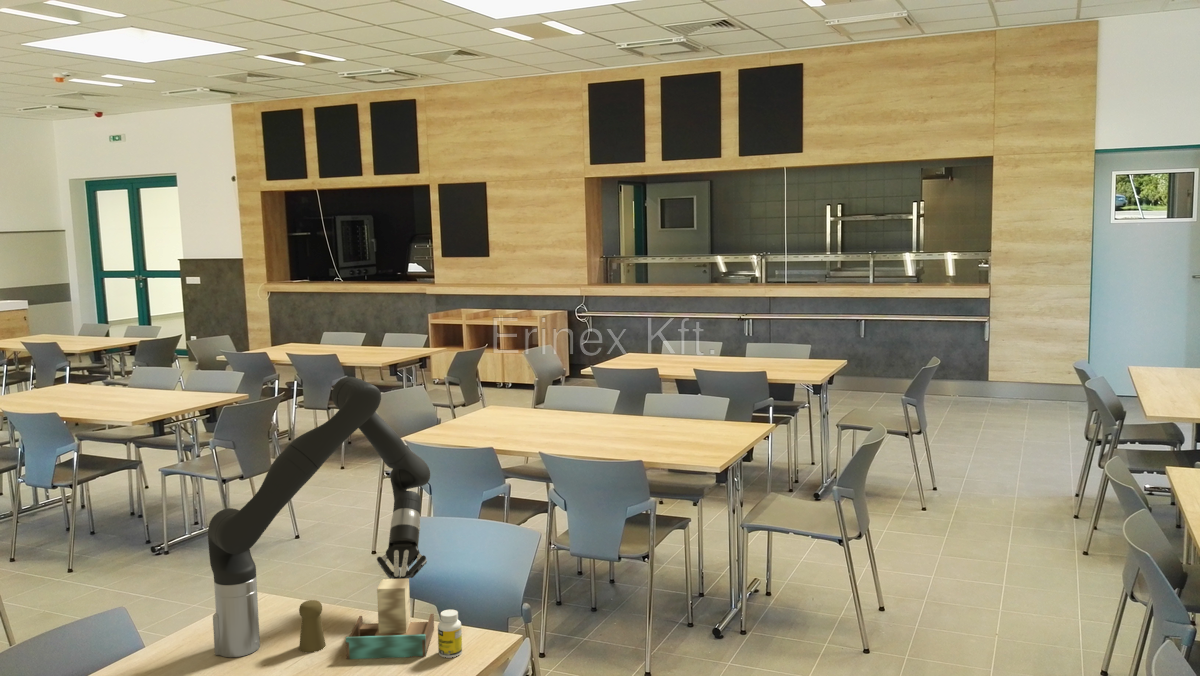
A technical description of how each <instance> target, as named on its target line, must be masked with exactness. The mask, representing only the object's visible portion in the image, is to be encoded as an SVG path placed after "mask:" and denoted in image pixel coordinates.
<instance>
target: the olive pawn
mask: <svg viewBox="0 0 1200 676" xmlns="http://www.w3.org/2000/svg"><path fill="white" fill-rule="evenodd" d="M298 611H299V616H301V626H300V636H299V647H298V650H299V651H300V652H301V651H302V653H305V652H311V653H315V652H314V651H317V652H320V651H322V650H323V648H324V647H325V646H327V644H326V639H325V635H324V629H323V624H322V623H323V622H322V618H321V614H322V612H323V605H322V603H321V601H319V600H317V599H316V600H315V599H311V600H310V599H309V600H306V601H304V602H302V603H301V604H300V605H299V608H298ZM325 648H326V647H325ZM325 648H324V649H325ZM321 649H322V650H321ZM319 650H320V651H319Z"/></svg>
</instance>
